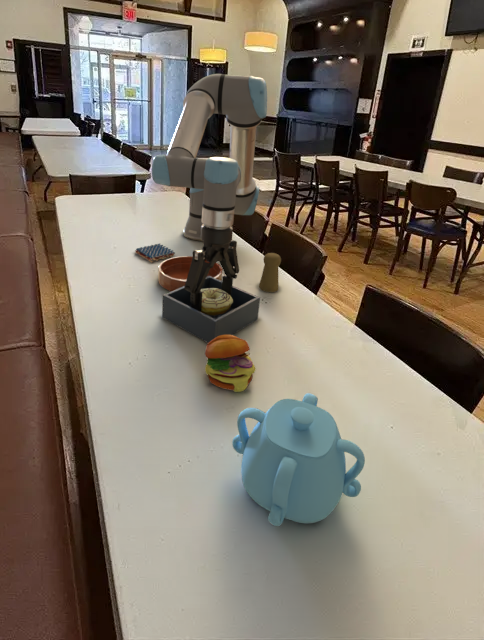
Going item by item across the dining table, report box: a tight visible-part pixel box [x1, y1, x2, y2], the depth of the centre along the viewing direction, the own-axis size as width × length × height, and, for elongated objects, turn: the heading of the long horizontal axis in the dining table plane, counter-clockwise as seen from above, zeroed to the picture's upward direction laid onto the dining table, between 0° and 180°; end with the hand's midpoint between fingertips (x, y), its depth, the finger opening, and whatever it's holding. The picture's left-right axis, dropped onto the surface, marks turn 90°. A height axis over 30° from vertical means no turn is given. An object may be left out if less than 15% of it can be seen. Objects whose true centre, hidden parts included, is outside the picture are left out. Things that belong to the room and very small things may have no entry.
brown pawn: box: [258, 252, 282, 293], centre depth 125 cm, size 6×6×11 cm
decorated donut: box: [200, 288, 233, 316], centre depth 105 cm, size 10×11×4 cm
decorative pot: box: [231, 392, 366, 527], centre depth 61 cm, size 16×16×14 cm
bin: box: [161, 276, 261, 344], centre depth 106 cm, size 18×18×6 cm
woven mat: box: [134, 243, 176, 264], centre depth 144 cm, size 10×11×2 cm
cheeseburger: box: [204, 334, 257, 393], centre depth 85 cm, size 10×11×10 cm
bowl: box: [157, 255, 224, 292], centre depth 126 cm, size 19×19×4 cm
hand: (211, 306), depth 106 cm, fingers closed on decorated donut, 11 cm apart
